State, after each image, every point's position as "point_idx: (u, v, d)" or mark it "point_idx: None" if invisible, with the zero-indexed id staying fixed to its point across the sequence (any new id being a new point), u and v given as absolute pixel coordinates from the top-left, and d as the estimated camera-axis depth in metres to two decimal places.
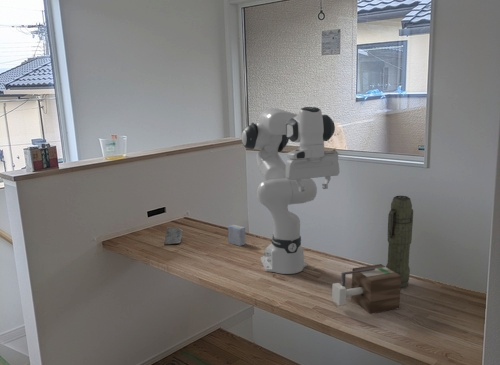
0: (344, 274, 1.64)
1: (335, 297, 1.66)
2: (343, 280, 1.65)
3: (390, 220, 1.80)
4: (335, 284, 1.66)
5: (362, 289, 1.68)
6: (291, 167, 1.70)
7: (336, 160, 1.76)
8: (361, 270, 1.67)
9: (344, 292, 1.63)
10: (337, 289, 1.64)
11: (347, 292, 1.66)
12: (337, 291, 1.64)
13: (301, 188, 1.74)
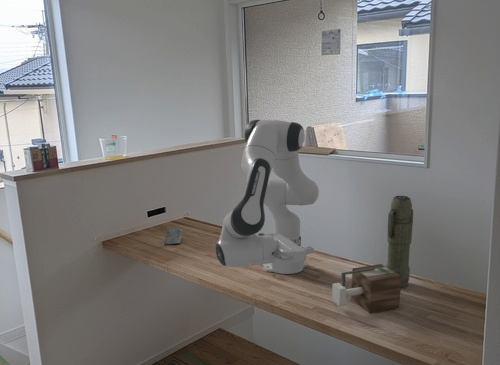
0: (344, 274, 1.64)
1: (335, 297, 1.66)
2: (343, 280, 1.65)
3: (390, 220, 1.80)
4: (335, 284, 1.66)
5: (362, 289, 1.68)
6: None
7: None
8: (361, 270, 1.67)
9: (344, 292, 1.63)
10: (337, 289, 1.64)
11: (347, 292, 1.66)
12: (337, 291, 1.64)
13: None
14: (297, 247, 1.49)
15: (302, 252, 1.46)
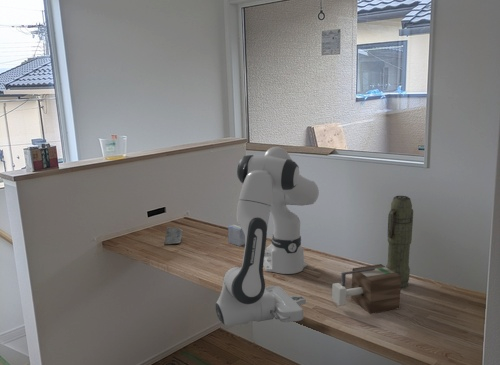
0: (344, 274, 1.64)
1: (335, 297, 1.66)
2: (343, 280, 1.65)
3: (390, 220, 1.80)
4: (335, 284, 1.66)
5: (362, 289, 1.68)
6: None
7: None
8: (361, 270, 1.67)
9: (344, 292, 1.63)
10: (337, 289, 1.64)
11: (347, 292, 1.66)
12: (337, 291, 1.64)
13: None
14: (295, 305, 1.53)
15: (299, 312, 1.50)
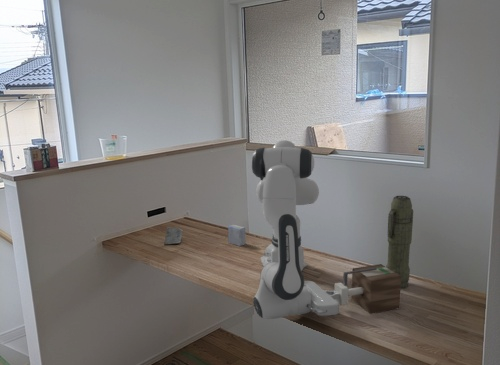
0: (346, 274, 1.65)
1: None
2: (345, 280, 1.65)
3: (390, 220, 1.80)
4: (337, 284, 1.67)
5: None
6: None
7: None
8: (363, 270, 1.67)
9: (346, 292, 1.64)
10: (339, 289, 1.65)
11: (349, 291, 1.66)
12: (339, 290, 1.65)
13: None
14: (330, 299, 1.57)
15: (336, 305, 1.54)
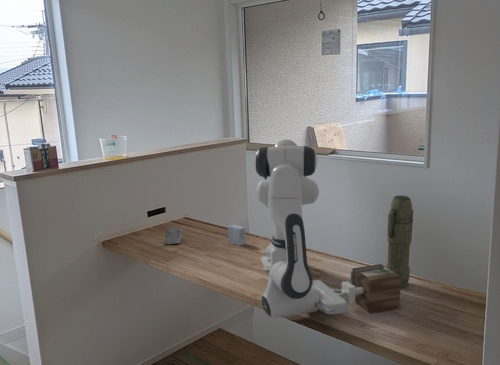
0: (353, 273, 1.66)
1: None
2: (352, 279, 1.66)
3: (390, 220, 1.80)
4: (344, 283, 1.68)
5: None
6: None
7: None
8: (370, 269, 1.68)
9: (353, 290, 1.65)
10: (346, 288, 1.65)
11: (357, 290, 1.67)
12: (346, 289, 1.65)
13: None
14: (338, 298, 1.58)
15: (344, 304, 1.55)
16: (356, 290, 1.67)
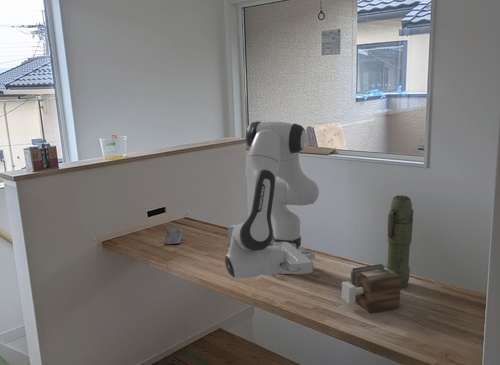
0: (354, 273, 1.66)
1: (345, 296, 1.67)
2: (353, 279, 1.66)
3: (390, 220, 1.80)
4: (345, 282, 1.68)
5: None
6: None
7: None
8: (370, 269, 1.68)
9: (354, 290, 1.65)
10: (346, 288, 1.65)
11: (357, 290, 1.67)
12: (346, 289, 1.66)
13: None
14: (304, 258, 1.53)
15: (309, 264, 1.50)
16: (356, 290, 1.67)
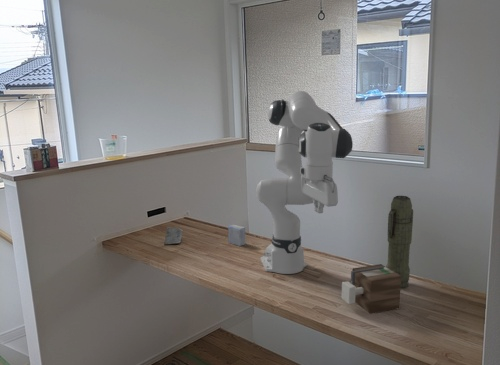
0: (354, 273, 1.66)
1: (345, 296, 1.67)
2: (353, 279, 1.66)
3: (390, 220, 1.80)
4: (345, 282, 1.68)
5: None
6: (301, 180, 1.69)
7: (326, 189, 1.53)
8: (370, 269, 1.68)
9: (354, 290, 1.65)
10: (346, 288, 1.65)
11: (357, 290, 1.67)
12: (346, 289, 1.66)
13: (315, 208, 1.64)
14: None
15: (337, 201, 1.54)
16: (356, 290, 1.67)
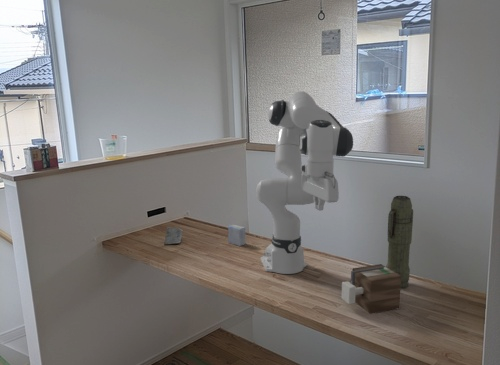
0: (354, 273, 1.66)
1: (345, 296, 1.67)
2: (353, 279, 1.66)
3: (390, 220, 1.80)
4: (345, 282, 1.68)
5: None
6: (301, 178, 1.70)
7: (327, 185, 1.53)
8: (370, 269, 1.68)
9: (354, 290, 1.65)
10: (346, 288, 1.65)
11: (357, 290, 1.67)
12: (346, 289, 1.66)
13: (315, 205, 1.64)
14: None
15: (337, 197, 1.54)
16: (356, 290, 1.67)
